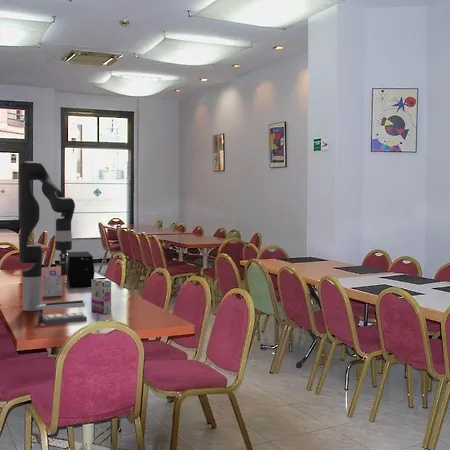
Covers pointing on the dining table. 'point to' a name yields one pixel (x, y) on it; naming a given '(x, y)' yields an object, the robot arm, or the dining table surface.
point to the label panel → (64, 318)
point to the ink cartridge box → (53, 284)
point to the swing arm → (61, 305)
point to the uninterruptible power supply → (79, 269)
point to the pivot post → (40, 316)
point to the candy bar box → (101, 296)
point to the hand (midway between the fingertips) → (63, 274)
